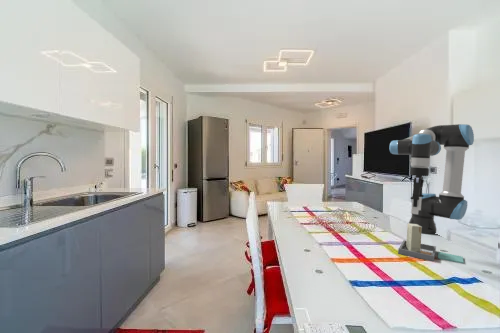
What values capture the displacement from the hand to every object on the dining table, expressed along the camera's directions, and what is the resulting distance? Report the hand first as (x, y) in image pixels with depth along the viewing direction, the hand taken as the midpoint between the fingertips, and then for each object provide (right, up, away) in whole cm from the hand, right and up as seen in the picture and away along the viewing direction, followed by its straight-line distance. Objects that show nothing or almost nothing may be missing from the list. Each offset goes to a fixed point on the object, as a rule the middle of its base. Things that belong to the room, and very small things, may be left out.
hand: (416, 211), depth 131 cm
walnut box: (0, -19, -8) cm, 21 cm away
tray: (-1, -19, -2) cm, 19 cm away
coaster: (+11, -19, -8) cm, 23 cm away
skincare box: (-1, -19, +1) cm, 19 cm away
